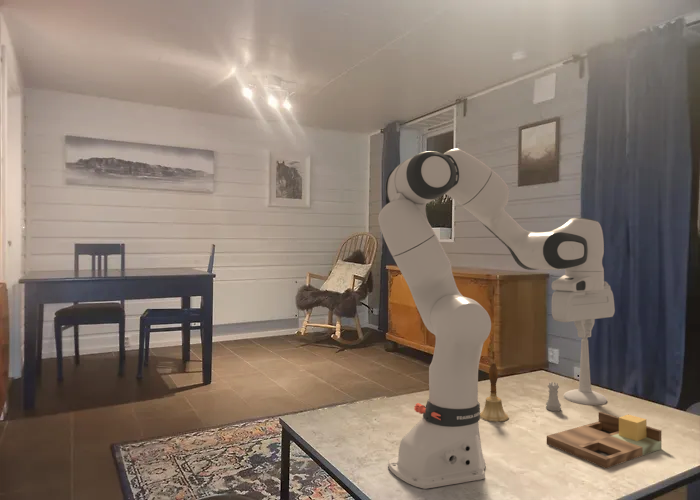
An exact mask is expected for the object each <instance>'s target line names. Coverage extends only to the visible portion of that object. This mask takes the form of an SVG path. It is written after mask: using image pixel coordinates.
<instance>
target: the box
mask: <svg viewBox="0 0 700 500" xmlns="http://www.w3.org/2000/svg"><path fill="white" fill-rule="evenodd" d="M619 417H620V416H619ZM619 417H618V416H616V415H613V414H609V413H606V412H603V411H599V412H598V421H596V422H592V423H589V424H584V425H581V426H577V427H574V428H570V429H566V430H562V431H560V432H556V433H551V434H549V435H546V444H547V445H549V446H551V447H553V448H556V449H558V450H561V451H563V452H566V453H568V454H570V455H573V456H575V457H578V458H580V459H582V460H585V461H587V462H590V463H593V464H594V465H597V466H600V467H602V468H604V469H609V468H612V467H615V466H618V465H620V464H623V463H626V462H628V461H631V460H633V459H637V458H640V457H642V456H645V455H648V454H650V453H653V452H657V451H659V450H662V445H663V444H662V429H657V428H654V427H651V426H648V425H646V432H647V437H646V438H644V439H641V440H639V441H635V440H632V439H629V438H625V437H622V436H619Z"/></svg>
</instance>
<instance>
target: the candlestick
mask: <svg viewBox="0 0 700 500" xmlns="http://www.w3.org/2000/svg"><path fill="white" fill-rule="evenodd" d="M584 325H585V324H584ZM588 338H589V337H586V338H581V342H580V343H581V344H580V345H581V346H580V360H579V361H580V362H579V380H578V382H579V383H578V388H575V389H570V390H567V391H566V392H564V393H563V398H564V399H565V400H567V401H569V402H570V403H571V402H572V403H576V404H579V405H588V406H601V405H605V404H606V403H607V402H608V398H607V397H606V396H605V395H603V394H602V393H601V392H597V391H594V390H592V385H591V368H590V367H591V366H590V353H589V352H590V351H589V339H588Z"/></svg>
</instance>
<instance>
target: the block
mask: <svg viewBox="0 0 700 500" xmlns="http://www.w3.org/2000/svg"><path fill="white" fill-rule="evenodd" d="M646 426H647V419H646V418H642V417H639V416H635V415H633V414H626V415H622V416H619V436H622V437H625V438H629V439H632V440H635V441H639V440H641V439H644V438H646V437H647V432H646Z"/></svg>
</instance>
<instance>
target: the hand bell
mask: <svg viewBox="0 0 700 500" xmlns="http://www.w3.org/2000/svg"><path fill="white" fill-rule="evenodd" d="M498 378H499V371H498V367H497V365H496V362H490V366H489V369H488V379H489V382H490V396H488V397H486V398H485V402H484V407H483V409H482V411H480V419H482V420H485V421H488V422H495V423H496V422H497V423H498V422H500V423H501V422H505V421H506V422H507V421H508V420H509V419H510V417H509V415H508V414H507V413H506V412H505V410H504V408H503V407H504V406H503V401H502V399H501V398H500V397H499V396H497V395H498V394H497V382H498Z"/></svg>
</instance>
